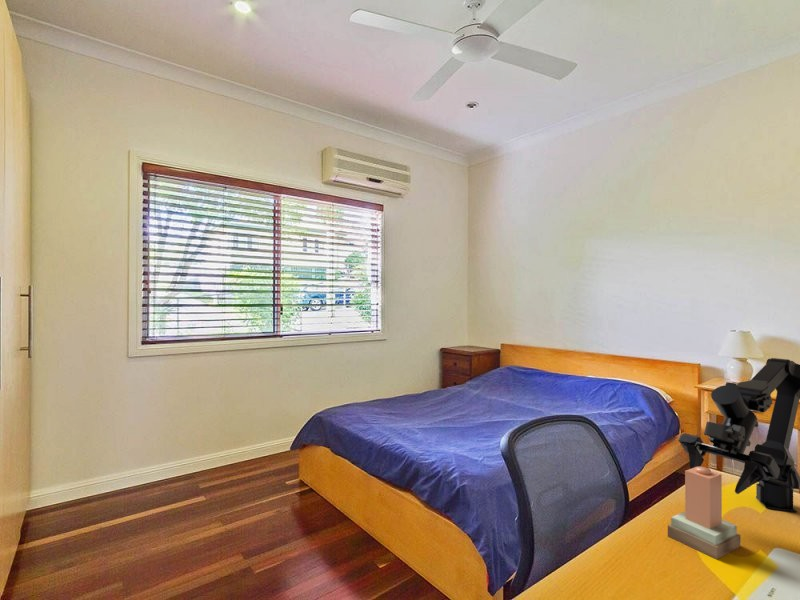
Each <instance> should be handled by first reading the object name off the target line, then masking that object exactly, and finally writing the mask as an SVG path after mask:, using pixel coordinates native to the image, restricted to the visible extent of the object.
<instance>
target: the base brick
mask: <svg viewBox="0 0 800 600" xmlns="http://www.w3.org/2000/svg"><path fill="white" fill-rule="evenodd" d="M670 520H671V521H670V524H668V525H667V537H669V538H671V539H673V540H675V541H676V542H679V543H681V544H684V545H685V546H688V547H689V548H691V549H694V550H696V551H698V552H700V553H702V554H705V555H707V556H709V557H711V558H713V559H715V560H718V559H720V558H722V557H725V556H726V555H727V554H729V553H732V552H733V551H735V550H736V549H739V548H740V547H741V542H742V541H741V534H739V533H738V530H737V529H738V528H737V526H738V525H737V524H734V523H732V522H729V521H726V520H724V519H722V524H720V525H718V526H716V527H713V528H711V529H708V528H706V527H703V526H701V525H699V524H696V523H694V522H692V521H689V520H687V519H685V511H683V512H680V513H677V514H675V515H673V516H671V517H670Z"/></svg>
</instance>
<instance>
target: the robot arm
mask: <svg viewBox="0 0 800 600" xmlns="http://www.w3.org/2000/svg"><path fill="white" fill-rule="evenodd" d="M774 391H776V396H775V400H774V405H773V398H772V393H773V392H774ZM710 397H711V399H712V401H713V402H714V404H715V406H716V407H717V409H718V411H719V412H720V414H721V415H722V416H723V417H724V420H723V422H722V423H716V422H711V421H706V425H705V427H704V428H705V429H704V432H703V433H704V434H703V435H704V436H708V437H709V438H708V440H709V442H710V443H712V445H711V444H707V443H705V442H704V441H703V440H702V438H701V437H700V436H697V435H695V434H694V435H693V434H691V433H687V432H685V433H682V434H681V435H680V437H678V442H679V444H680V445H681V447H682V448H683V450H684V451H685V452H686V454H688V457H689V458H688V459H689V469H692V468H695V467H702V465H703V463H704V461H705V459H704V456H706V453H707V454H711V455H713V456H717V457H718V456H719V457H722V458H725V459H729V460H733V461H736V462H738V463H743V464H744V468H743V470H742V472H741V475H740V477H739V478H738V481H737V483H736V485H735V489H734V493H735V494H736V495H739V494H740V493H742V492H744V491H745V490H747V489H748V488H750V487H751V486H752V485H755V484H756V493H755V494H756V496H755V499H757V500H758V502H759V503H760V504H762V505H763V507H765V508H766V509H770V510H777V511H784V512H785V511H786V512H792V513H797V512H798V511H797V509H796V508H795V507H794V490H800V475H799V473H798V471H797V469H796V467H795V460H794V458H793V457H792V456H793V455H792V454H791V452H790V450H789V448H790V446H791V445H790V444H791V440H792V436H793V431H794V426H795V421H796V416H797V414H798V412H797V411H798V408H799V404H800V403H799V402H800V364H799V363H796V362H795V361H793V360H790V359H787V358H778V357H777V358H776V357H771V358H767V359H766V363H765V365H764V366H763V367H762V368H761V369H760V370H759V371H758V372H756V374H754V376H753V377H752V378H751V379H750V380H747V381H741V382H740V381H739V383H735V382H728V381H727V382H725V384H723V385H721V386H717V387H716V388H715V389H713V390H712V391H711V393H710ZM772 405H773V407H772V408H773V409H772V413H771V417H770V421H769V426H768V430H767V434H766V439H765V441H764V442H763V443H761V444H759V443H758V444H757V443H756V445H755V446H754V450H750V451H749V453H748V454H746V453H745V451H746V448H747V447H750V446H751V444H752V442H751V440H750V439H751V436H752V434H753V431H754V430H755V428H759V422H758V417H757V415H756V414H755V413H754V412H759V413H765V412H767V411H768V410H769V409H771V406H772Z"/></svg>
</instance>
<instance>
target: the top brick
mask: <svg viewBox="0 0 800 600" xmlns="http://www.w3.org/2000/svg"><path fill="white" fill-rule="evenodd" d="M722 475H723V474H722V473H718V472H715V471H712V470H711V468H708V467H704V466H701V467H695V468H692V469H690V468H689V469H686V470H684V481H685V482H684V485H685V487H684V495H685V497H684V500H685V503H684V504H685V505H684V507H685V519H687V520H689V521H692V522H694V523H696V524H699V525H701V526H703V527H706V528H708V529H711V528H713V527H716V526H718V525H720V524H722V520H723V518H722V517H723V515H722V514H723V513H722V512H723V511H722V510H723V509H722V508H723V506H722V505H723V504H722V503H723V502H722V501H723V499H722V496H723V495H722V494H723V493H722V492H723V491H722V490H723V489H722V485H723V484H722V482H723V481H722V480H723V479H722V477H723V476H722Z"/></svg>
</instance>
